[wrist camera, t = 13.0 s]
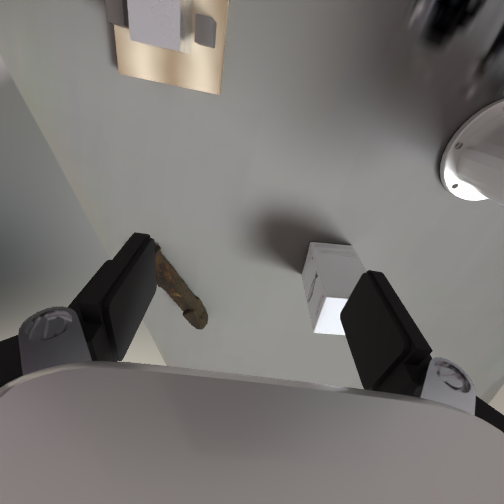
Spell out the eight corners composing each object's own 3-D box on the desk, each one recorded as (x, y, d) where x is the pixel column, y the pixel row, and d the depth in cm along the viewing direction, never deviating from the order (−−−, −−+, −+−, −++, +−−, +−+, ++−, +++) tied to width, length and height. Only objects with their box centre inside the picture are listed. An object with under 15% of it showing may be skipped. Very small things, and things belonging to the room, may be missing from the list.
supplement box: (309, 240, 41) (326, 295, 31) (353, 244, 41) (385, 300, 31) (299, 275, 45) (312, 333, 35) (340, 278, 46) (364, 338, 35)
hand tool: (141, 249, 43) (129, 266, 39) (160, 242, 42) (151, 258, 38) (196, 318, 53) (191, 337, 49) (213, 313, 52) (209, 332, 48)
